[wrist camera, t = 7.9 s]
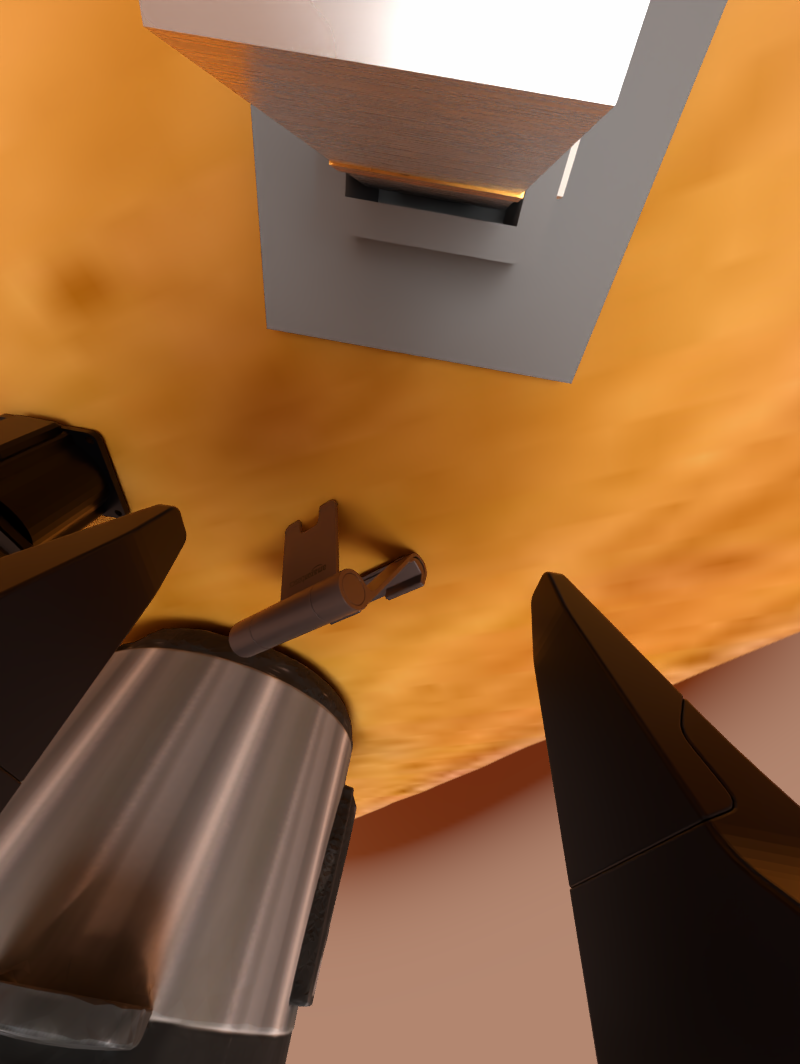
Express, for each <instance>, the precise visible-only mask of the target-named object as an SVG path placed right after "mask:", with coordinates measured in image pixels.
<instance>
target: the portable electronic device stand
mask: <svg viewBox="0 0 800 1064" xmlns="http://www.w3.org/2000/svg"><path fill="white" fill-rule="evenodd" d="M337 505H338V504H337V502H336V501H334V500H330V501H328V502H327V503H325V504H323V505H322V506H320V510H319V518H318V522H317V524H316V525H315V526H313V527H312V528H310V529H308V530H307V531H305V532H302V524H301V521H300V520H298V521H296V522H295V523H293V524H291V525H290V526H289V527H288V528H287V529H286V531H285V547H284V560H283V574H282V588H281V601H280V602H278V603H276V604H274V605H272V606H270V607H268V608H266V609H264V610H262V611H260V612H258V613H256V614H254V615H252V616H250V617H248V618H246V619H244V620H242V621H240V622H238V623H236V624H235V625H234V626H233V627H232V629H231V630H230V633H229V643H230V646H231V648H232V650H233V651H234V652H235V653H236V654H237V655H239V656H240V657H251V656H253V655H256V654H258V653H261V652H263V651H265V650H268V649H270V648H273V647H275V646H277V645H279V644H282V643H284V642H286V641H289V640H291V639H293V638H296V637H298V636H300V635H303V634H305V633H308V632H310V631H312V630H315V629H317V628H319V627H322V626H324V625H326V624H329V623H330V624H334V623H336V622H339V621H341V620H343V619H346V618H348V617H350V616H353V615H355V614H358V613H360V612H361V610H362V609H364V608H365V607H366V606H367V604H368V603H369V602H372V601H374V600H376V599H379V598H381V597H383V596H385V597H386V599H388V600H391V599H393V598H396V597H398V596H400V595H403V594H405V593H408V592H410V591H412V590H415V589H417V588H419V587H422V586H424V584H425V580H426V576H427V571H426V567H425V564H424V562H423V560H422V559H421V557H420V556H419V555H418V554H416V553H412V554H410V555H408V556H403V557H401V558H399V559H397V560H395V562H393V563H391V564H389V565H387V566H385V567H383V568H381V569H378V570H376V571H374V572H372V573H370V574H368V575H366V576H364V577H361V576H360V575H359V574H358V573H357V572H355V571H354V570H352V569H344V570H342V571H340V572H339V548H338V511H337Z"/></svg>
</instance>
